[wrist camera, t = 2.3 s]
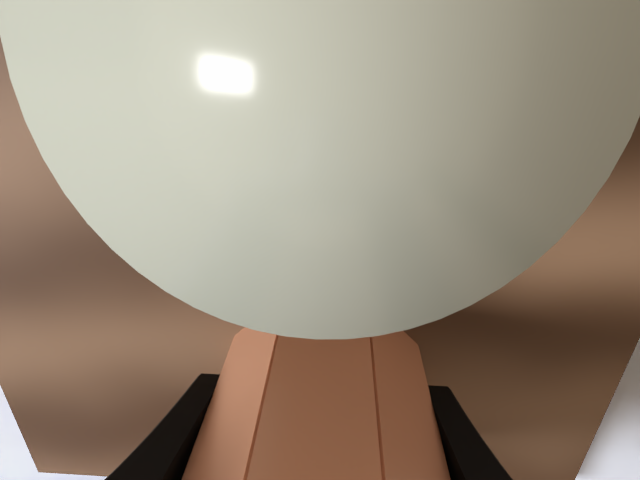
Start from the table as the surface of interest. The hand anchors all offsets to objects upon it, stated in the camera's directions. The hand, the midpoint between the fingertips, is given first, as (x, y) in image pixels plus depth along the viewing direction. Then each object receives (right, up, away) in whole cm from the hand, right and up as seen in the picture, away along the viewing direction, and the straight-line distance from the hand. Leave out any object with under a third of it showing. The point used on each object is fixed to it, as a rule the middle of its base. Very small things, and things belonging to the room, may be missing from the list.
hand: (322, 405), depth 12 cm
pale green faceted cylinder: (0, +9, -3) cm, 9 cm away
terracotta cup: (0, +1, +1) cm, 1 cm away
